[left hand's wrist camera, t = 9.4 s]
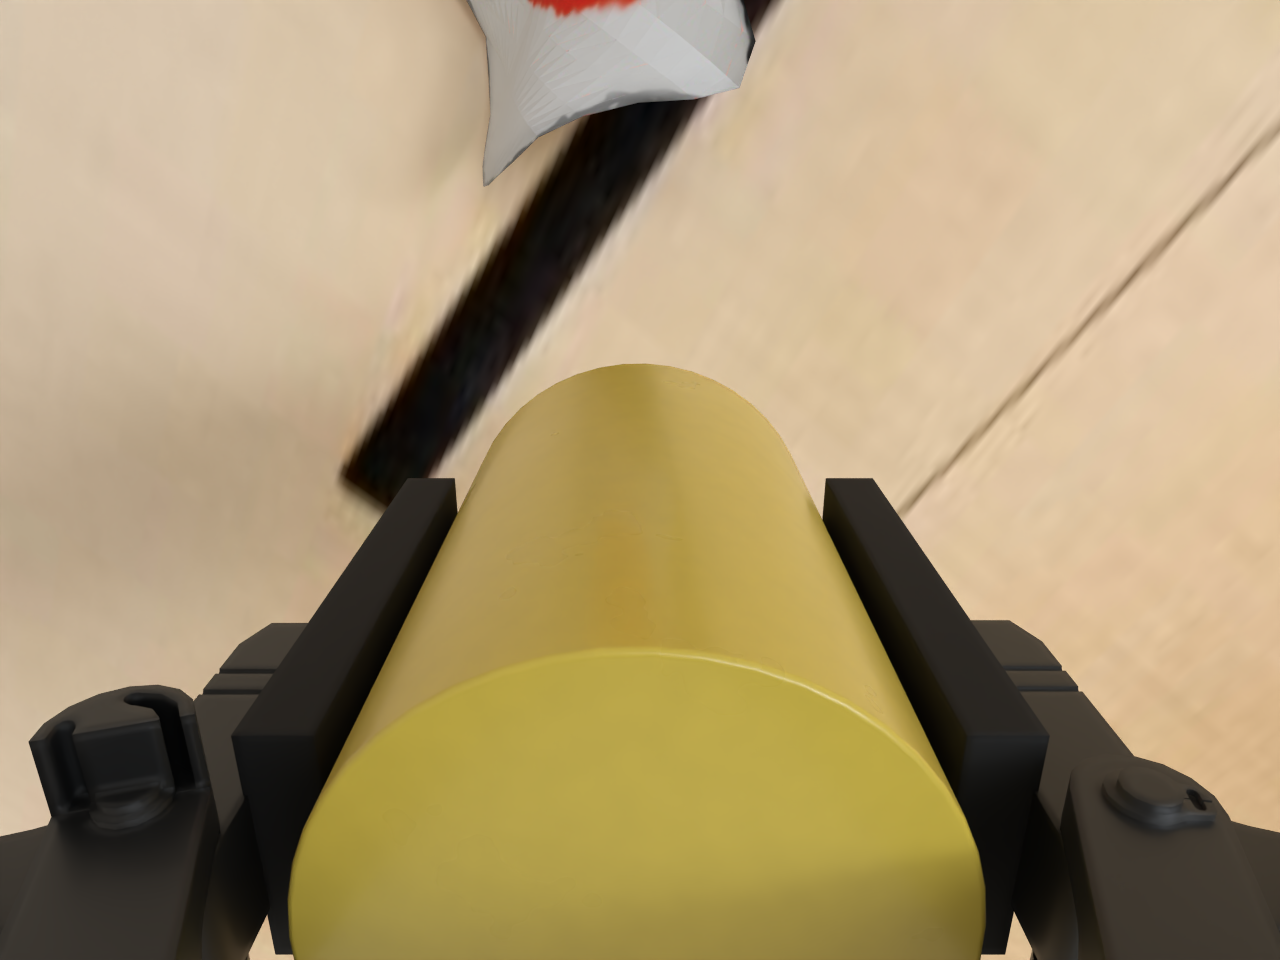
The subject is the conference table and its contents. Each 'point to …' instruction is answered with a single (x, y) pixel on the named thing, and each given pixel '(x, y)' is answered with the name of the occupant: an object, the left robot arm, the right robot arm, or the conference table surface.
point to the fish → (600, 61)
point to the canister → (637, 719)
